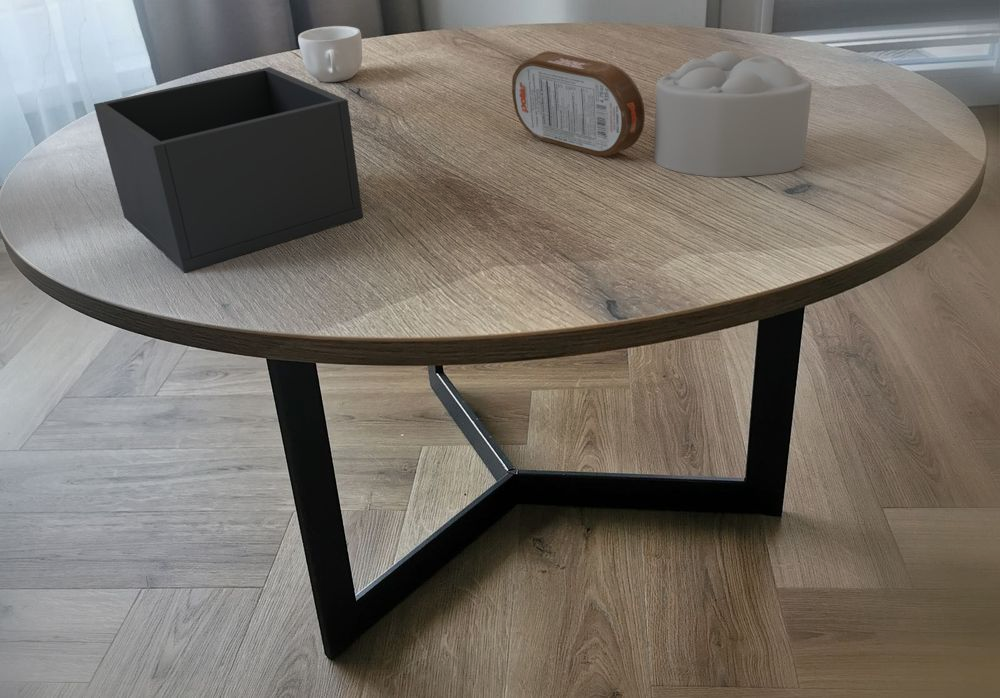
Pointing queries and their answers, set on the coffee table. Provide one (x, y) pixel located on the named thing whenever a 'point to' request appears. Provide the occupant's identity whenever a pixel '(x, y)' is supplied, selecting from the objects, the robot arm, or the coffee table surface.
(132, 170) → the open-topped box
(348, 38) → the teacup
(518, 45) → the coffee table surface
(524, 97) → the tin
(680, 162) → the lumpy-topped squat cylinder
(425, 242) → the coffee table surface
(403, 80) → the coffee table surface
